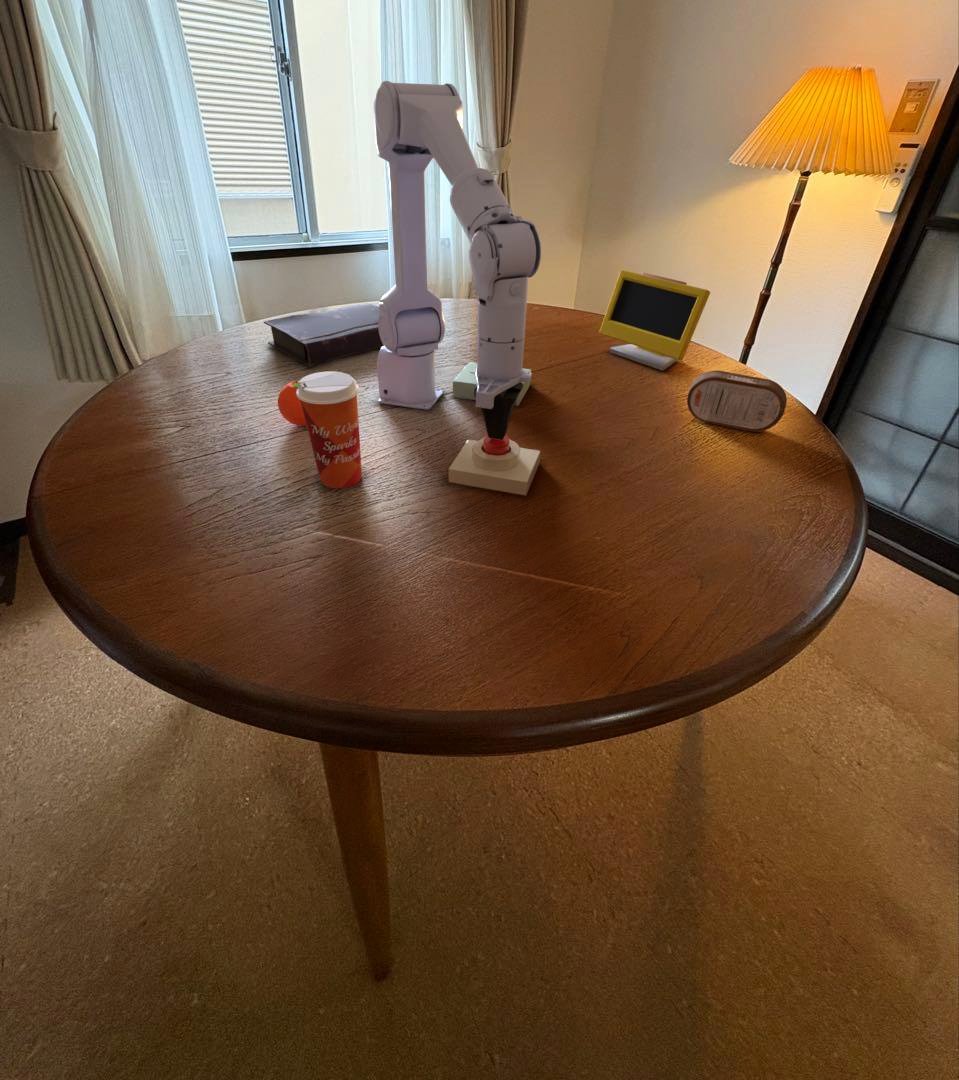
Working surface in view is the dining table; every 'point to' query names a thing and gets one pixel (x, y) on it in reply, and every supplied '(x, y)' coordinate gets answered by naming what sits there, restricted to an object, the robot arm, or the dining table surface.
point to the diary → (327, 333)
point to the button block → (495, 468)
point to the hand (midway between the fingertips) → (496, 436)
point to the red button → (496, 446)
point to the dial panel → (467, 384)
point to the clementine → (291, 404)
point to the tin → (736, 400)
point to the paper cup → (332, 426)
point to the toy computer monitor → (653, 318)
